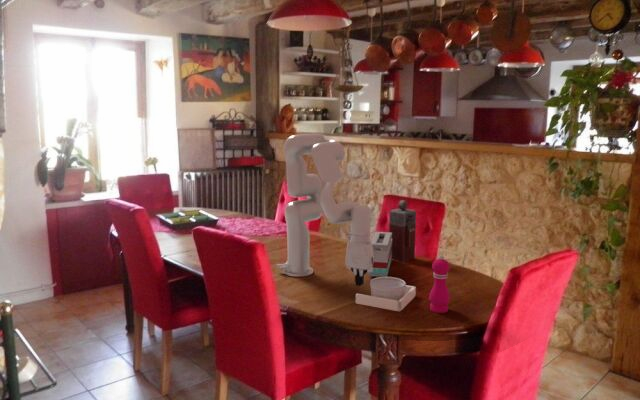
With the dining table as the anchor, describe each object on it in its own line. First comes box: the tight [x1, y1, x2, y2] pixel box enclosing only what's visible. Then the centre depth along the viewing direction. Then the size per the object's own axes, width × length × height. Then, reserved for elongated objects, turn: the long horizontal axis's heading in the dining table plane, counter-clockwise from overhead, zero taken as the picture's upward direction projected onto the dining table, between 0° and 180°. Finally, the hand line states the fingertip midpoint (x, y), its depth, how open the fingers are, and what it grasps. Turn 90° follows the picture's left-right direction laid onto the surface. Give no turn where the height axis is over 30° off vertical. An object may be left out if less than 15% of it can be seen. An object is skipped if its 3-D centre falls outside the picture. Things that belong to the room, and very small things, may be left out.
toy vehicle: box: [368, 231, 393, 278], centre depth 231 cm, size 8×30×15 cm, turn 168°
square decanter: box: [388, 199, 417, 263], centre depth 245 cm, size 9×11×28 cm
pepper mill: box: [428, 254, 451, 314], centre depth 183 cm, size 7×7×20 cm
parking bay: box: [355, 284, 417, 313], centre depth 195 cm, size 17×18×4 cm
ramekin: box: [369, 276, 407, 301], centre depth 194 cm, size 13×13×7 cm
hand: (359, 284), depth 199 cm, fingers closed
